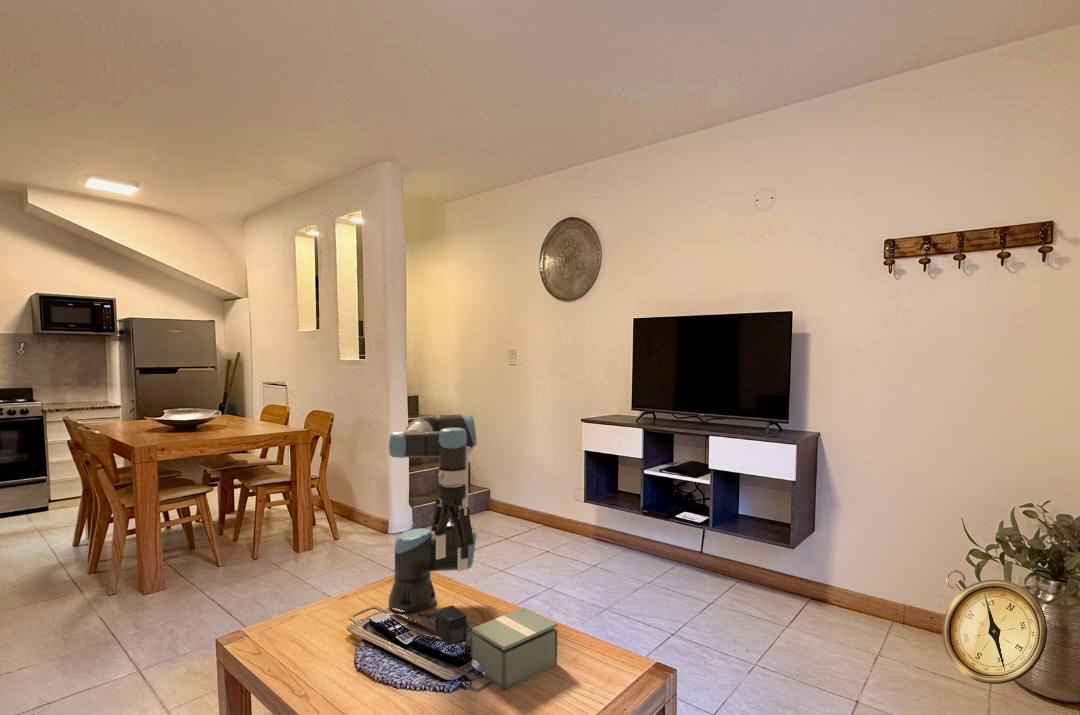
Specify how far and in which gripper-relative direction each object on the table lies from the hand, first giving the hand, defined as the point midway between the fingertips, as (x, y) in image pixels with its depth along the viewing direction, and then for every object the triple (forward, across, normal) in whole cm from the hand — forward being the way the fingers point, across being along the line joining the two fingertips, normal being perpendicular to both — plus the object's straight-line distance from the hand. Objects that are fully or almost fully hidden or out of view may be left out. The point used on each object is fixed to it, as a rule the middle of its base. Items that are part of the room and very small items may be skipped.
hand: (451, 563), depth 146 cm
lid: (+14, +17, +9) cm, 24 cm away
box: (+24, 0, 0) cm, 24 cm away
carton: (+24, +17, +9) cm, 31 cm away
